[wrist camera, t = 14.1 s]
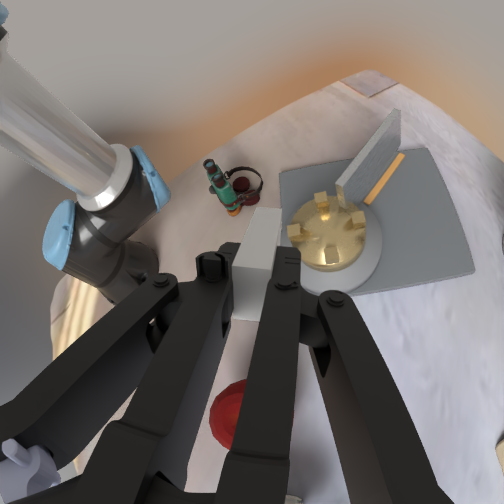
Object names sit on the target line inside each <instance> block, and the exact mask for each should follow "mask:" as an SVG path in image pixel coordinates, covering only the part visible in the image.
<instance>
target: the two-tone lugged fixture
mask: <svg viewBox="0 0 504 504" xmlns="http://www.w3.org/2000/svg"><path fill="white" fill-rule="evenodd" d="M400 144H401V110H398V109H395V108H394V109H393V110H392V112H391V113H390V114H389V115H388V117H387V118H386V119H385V121H384V122H383V123H382V124H381V126H380V127H379V128H378V130H377V131H376V132H375V133H374V135H373V136H372V137H371V139H370V140H369V141H368V142H367V144H366V145H365V146H364V147H363V149H362V150H361V151H360V152H359V154H358V155H357V156H356V158H355V159H354V160H353V161H352V163H351V164H350V165H349V166H348V168H347V169H346V170H345V171H344V173H343V174H342V175H341V176H340V178H339V179H338V180H337V181H336V183H335V186H336V191H337V196H338V197H336V196H327V194H326V191H324V192H319V193H314V197H315V199H313V200H311V201H309V202H307V203H306V204H304V205H303V206H302V207H301V208H300V209H299V210H298V211H297V212H296V214H295V215H294V217H293V219H292V221H291V224H290V225H289V226H287V233H288V238H289V240H290V241H291V244H292V246H293V247H297V248H298V249H299V251H300V252H301V261H302V262H303V263H304V264H305V265H306V266H308V267H309V268H311V269H313V270H316V271H319V272H328V273H330V272H337V271H341V270H343V269H346V268H347V267H349V266H351V265H352V264H353V263H355V262H356V261H357V260H358V258H359V257H360V256H361V254H362V252H363V250H364V247H365V243H366V220H365V216H364V212H363V211H360V210H359V209H358V208H357V206H358V205H359V203H360V202H361V200H362V199H363V198H364V196H365V195H366V194H367V192H368V191H369V189H370V188H371V187H372V185H373V184H374V182H375V181H376V179H377V178H378V177H379V175H380V174H381V172H382V171H383V169H384V168H385V167H386V165H387V164H388V162H389V161H390V159H391V158H392V156H393V155H394V153H395V152H396V151H397V149H398V148H399V146H400Z"/></svg>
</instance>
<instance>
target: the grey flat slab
mask: <svg viewBox="0 0 504 504" xmlns="http://www.w3.org/2000/svg"><path fill="white" fill-rule="evenodd" d="M354 159H355V158H353V159H347V160H341V161H336V162H331V163H325V164H320V165H315V166H310V167H305V168H300V169H296V170H291V171H287V172H282V173H279V181H280V196H281V209H282V230H281V237H280V246H286V247H293V246H292V244H291V241H290V240H289V238H288V233H287V226H289V225H290V224H291V221H292V219H293V217H294V215H295V214H296V212H297V211H298V210H299V209H300V208H301V207H302V206H303V205H304V204H306V203H307V202H309V201H311V200H313V199H315V197H314V193H319V192H324V191H326V194H327V196H336V197H338V196H337V191H336V186H335V183H336V181H337V180H338V179H339V178H340V176H341V175H342V174H343V173H344V171H345V170H346V169H347V168H348V166H349V165H350V164H351V163H352V161H353V160H354ZM357 208H358V209H359V210H360V211H363V212H364V216H365V220H366V243H365V247H364V250H363V252H362V254H361V256H360V257H359V258H358V260H357V261H356V262H355V263H353V264H352V265H351V266H349V267H347V268H346V269H343V270H341V271H337V272H330V273H328V272H319V271H316V270H313V269H311V268H309V267H308V266H306V265H305V264H304V263H303V262H302V261H301V280H300V282H301V286H302V287H303V288H304V289H305V290H306V291H307V292H309V293H311V294H314V295H317V296H320V294H321V293H322V292H324V291H327V290H339V291H342V292H344V293H346V294H348V295H349V296H350V297H351V296H358V295H364V294H371V293H377V292H383V291H389V290H395V289H400V288H406V287H411V286H417V285H422V284H427V283H432V282H437V281H442V280H447V279H452V278H456V277H461V276H466V275H470V274H473V273H474V272H475V267H474V263H473V259H472V256H471V253H470V249H469V246H468V243H467V240H466V237H465V234H464V231H463V228H462V225H461V222H460V220H459V217H458V214H457V212H456V209H455V206H454V204H453V201H452V199H451V197H450V194H449V192H448V190H447V187H446V185H445V183H444V180H443V178H442V176H441V174H440V172H439V170H438V168H437V166H436V163H435V161H434V159H433V157H432V155H431V154H430V152H429V150H428V148H420V149H412V150H405V151H397V152H395V153H394V155H393V156H392V158H391V159H390V161H389V162H388V164H387V165H386V167H385V168H384V169H383V171H382V172H381V174H380V175H379V177H378V178H377V179H376V181H375V182H374V184H373V185H372V187H371V188H370V189H369V191H368V192H367V194H366V195H365V196H364V198H363V199H362V200H361V202H360V203H359V205H358V206H357Z"/></svg>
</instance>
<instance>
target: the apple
mask: <svg viewBox="0 0 504 504" xmlns="http://www.w3.org/2000/svg"><path fill="white" fill-rule="evenodd" d="M246 381H247V379H244V380H241V381H238V382H236V383H233V384H230V385H229V386H228V387H227V388H226V389H224V390H223V391H222V392H221V393H220V394H219V395H218V396H216V398H215V400H214V402H213V404H212V406H211V408H210V417H209V424H210V427H211V431H212V434H213V436H214V437H215V438H216V439H217V440H218V441H219V443H220V444H221V445H222V446H224V447H225V448H227V449H229V450H230V448H231V445H232V441H233V437H234V433H235V429H236V424H237V420H238V416H239V412H240V407H241V403H242V399H243V394H244V390H245V386H246ZM293 418H294V412H293ZM292 426H293V422H292Z"/></svg>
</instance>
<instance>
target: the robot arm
mask: <svg viewBox="0 0 504 504" xmlns="http://www.w3.org/2000/svg"><path fill="white" fill-rule="evenodd" d="M8 14H9V13H8V10H7V8H5V6H3V5H2V4H1V3H0V145H1V146H2V147H4V148H6V149H7V150H9V151H10V152H12V153H13V154H15V155H16V156H18V157H19V158H21V159H23V160H24V161H26V162H27V163H29V164H30V165H32V166H34V167H35V168H37V169H38V170H40V171H42V172H43V173H45V174H46V175H48V176H50V177H51V178H53V179H54V180H56V181H58V182H59V183H61V184H63V185H64V186H66V187H68V188H69V189H71V190H73V191H74V192H76V193H77V200H78V201H77V202H76V203H74V201H73V200H69V199H67V200H65V201H62V202H61V203H60V204H59V206H58V207H57V208H56V210H55V211H54V213H53V215H52V217H51V218H50V221H49V223H48V225H47V228H46V231H45V234H44V239H43V254H44V257H45V259H46V260H47V261H48V262H49V263H51V264H52V265H54V266H55V267H57V269H58V270H62V271H64V272H65V273H67V274H69V275H71V276H73V277H75V278H77V279H79V280H81V281H83V282H85V283H87V284H90V285H92V286H94V287H96V288H97V289H98V290H99V291H100V292H101V293H102V294H103V295H104V297H106V298H107V300H108V301H109V302H110V303H112V304H113V305H115V307H114V308H113V309H111V310H110V311H109V312H108V313H107V314H106V315H104V316H103V317H102V318H101V319H100V320H99V321H97V322H96V323H95V324H94V325H93V326H92V327H91V328H89V329H88V330H87V331H86V332H85V333H84V334H83V335H81V336H80V337H79V338H78V339H77V340H76V341H75V342H74V343H73V344H71V345H70V346H69V347H68V348H67V349H66V350H65V351H64V352H63V353H62V354H60V355H59V356H58V357H57V358H56V359H55V360H54V361H53V362H52V363H51V364H50V365H49V366H47V367H46V368H45V369H44V370H43V371H42V372H41V373H40V374H39V375H38V376H37V377H36V378H35V379H34V380H33V381H32V382H31V383H30V384H29V385H28V386H26V387H25V388H24V389H23V391H21V392H20V393H19V394H18V395H17V396H16V397H15V398H14V399H13V400H12V401H9V402H8V403H6V404H4V405H2V406H0V493H1V496H2V498H3V501H4V503H5V504H285V498H286V491H287V484H288V477H289V467H290V461H289V450H290V441H291V432H292V422H293V412H294V401H295V390H296V377H297V363H298V348H299V342H300V343H302V344H305V345H308V346H309V352H310V355H311V359H312V362H313V365H314V369H315V372H316V376H317V379H318V383H319V386H320V390H321V393H322V397H323V400H324V404H325V407H326V411H327V414H328V418H329V422H330V425H331V429H332V433H333V436H334V440H335V444H336V448H337V451H338V455H339V459H340V463H341V467H342V471H343V475H344V478H345V482H346V486H347V490H348V494H349V498H350V503H351V504H454V502H453V501H452V500H451V499H450V498H449V497H448V496H447V495H446V494H445V493H444V491H443V490H442V489H441V488H440V487H439V486H438V484H437V481H436V478H435V476H434V473H433V470H432V468H431V465H430V462H429V460H428V457H427V455H426V452H425V450H424V447H423V445H422V442H421V440H420V437H419V435H418V433H417V430H416V428H415V426H414V423H413V421H412V419H411V416H410V414H409V412H408V410H407V407H406V405H405V403H404V401H403V399H402V396H401V394H400V392H399V390H398V388H397V386H396V384H395V382H394V379H393V377H392V375H391V373H390V371H389V369H388V367H387V365H386V363H385V361H384V359H383V357H382V355H381V353H380V351H379V349H378V347H377V345H376V343H375V341H374V339H373V337H372V335H371V333H370V332H369V330H368V328H367V326H366V324H365V322H364V320H363V318H362V316H361V315H360V313H359V311H358V309H357V307H356V305H355V304H354V302H353V300H352V298H351V297H350V296H349V295H348V294H346V293H344V292H342V291H339V290H327V291H324V292H322V293H321V294H320V296H317V295H314V294H311V293H309V292H307V291H306V290H305V289H304V288H303V287H302V286H301V282H300V280H301V252H300V251H299V249H298V248H297V247H286V246H280V237H281V222H282V209H279V208H266V207H256V209H255V212H254V214H253V216H252V219H251V221H250V224H249V226H248V228H247V231H246V233H245V235H244V238H243V240H242V242H241V243H233V242H226V243H225V244H223V245H222V246H220V248H219V250H218V251H217V252H216V251H210V252H205V253H202V254H200V255H198V256H197V257H196V268H197V277H196V279H195V280H194V281H190V282H179V283H178V281H177V278H176V276H175V275H173V274H170V273H159V274H158V260H157V257H156V254H155V253H154V251H153V250H152V249H151V248H149V247H148V246H146V245H145V244H143V243H141V242H134V241H130V240H127V239H128V238H129V237H130V236H131V235H132V234H133V233H134V232H135V231H137V230H138V229H139V228H140V227H141V226H142V225H144V224H145V223H146V222H147V221H148V220H149V219H151V218H152V217H153V216H154V215H155V214H156V213H158V212H159V211H160V209H161V208H162V207H163V206H164V205H165V204H166V203H167V202H168V201H169V200H170V197H171V192H170V190H169V188H168V187H167V185H166V184H165V182H164V181H163V179H162V178H161V176H160V175H159V173H158V172H157V170H156V169H155V167H154V166H153V164H152V163H151V161H150V160H149V159H148V157H147V156H146V154H145V152H144V151H143V149H142V148H141V147H140V146H139V145H137V146H134V147H132V148H130V150H129V149H128V148H127V147H125V146H124V145H121V144H112V145H108V144H107V143H106V142H105V141H104V140H103V139H102V138H100V136H98V135H97V134H96V133H95V132H93V130H92V129H90V128H89V127H88V126H87V125H86V124H85V123H84V122H83V121H82V120H81V119H79V118H78V117H77V116H76V115H75V114H74V113H73V112H72V111H71V110H70V109H68V108H67V107H66V106H65V105H64V104H63V103H62V102H61V101H59V99H57V98H56V97H55V96H54V95H53V94H52V93H51V92H50V91H49V90H48V89H47V88H45V87H44V86H43V85H42V84H41V83H40V82H39V81H38V80H37V79H36V78H35V77H33V76H32V75H31V74H30V73H29V72H28V71H27V70H26V69H25V68H24V67H23V66H22V65H21V64H19V63H18V62H17V61H16V60H15V59H14V58H13V57H12V56H11V55H10V54H9V53H8V52H7V44H8V37H9V33H8V32H7V31H6V30H5V29H4V28H3V27H2V26H1V24H3V23H4V21H5V20H6V18H7V17H8ZM232 312H233V319H239V320H247V321H255V322H259V327H258V331H257V336H256V340H255V345H254V350H253V354H252V359H251V363H250V368H249V372H248V377H247V381H246V386H245V390H244V394H243V399H242V403H241V407H240V412H239V416H238V420H237V424H236V429H235V433H234V437H233V441H232V445H231V448H230V451H229V452H228V453H227V455H226V458H225V461H224V464H223V468H222V472H221V476H220V480H219V484H218V487H217V491H216V493H189V492H184V488H185V485H186V481H187V466H188V462H189V459H190V455H191V452H192V449H193V446H194V443H195V440H196V436H197V433H198V430H199V427H200V424H201V420H202V417H203V414H204V411H205V408H206V405H207V401H208V398H209V395H210V392H211V389H212V385H213V382H214V379H215V376H216V373H217V370H218V366H219V363H220V360H221V357H222V354H223V350H224V347H225V344H226V341H227V338H228V334H229V331H230V328H231V315H232ZM153 318H154V321H153V322H152V323H151V324H150V323H149V322H150V321H151V320H152V319H153ZM136 388H137V389H136ZM135 389H136V391H135V393H134V395H133V397H132V399H131V401H130V403H129V405H128V407H127V409H126V411H125V413H124V415H123V417H122V418H121V419H120V420H114V421H111V422H110V423H108V424H107V426H106V427H105V429H104V430H103V432H102V434H101V436H100V438H99V440H98V442H97V444H96V446H95V448H94V450H93V453H92V455H91V457H90V459H89V461H88V463H87V465H86V467H85V469H84V472H83V474H81V475H78V476H76V477H74V478H72V479H70V480H68V481H65V482H63V483H61V484H59V483H60V482H61V477H60V475H59V473H58V472H57V471H58V470H59V469H61V468H63V467H65V466H66V465H67V464H69V463H70V462H71V461H72V460H74V459H75V458H76V457H77V456H78V455H79V454H80V453H81V452H82V451H83V449H84V448H85V447H86V446H87V445H88V444H89V442H90V441H91V440H92V439H93V438H94V437H95V435H96V434H97V433H98V432H99V431H100V430H101V429H102V427H103V426H104V425H105V424H106V423H107V422H108V420H109V419H110V418H111V417H112V416H113V415H114V413H115V412H116V411H117V410H118V409H119V408H120V407H121V405H122V404H123V403H124V402H125V401H126V400H127V398H128V397H129V396H130V395H131V394H132V393H133V391H134V390H135ZM51 485H52V486H53V487H51V488H49V487H50V486H51Z"/></svg>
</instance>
